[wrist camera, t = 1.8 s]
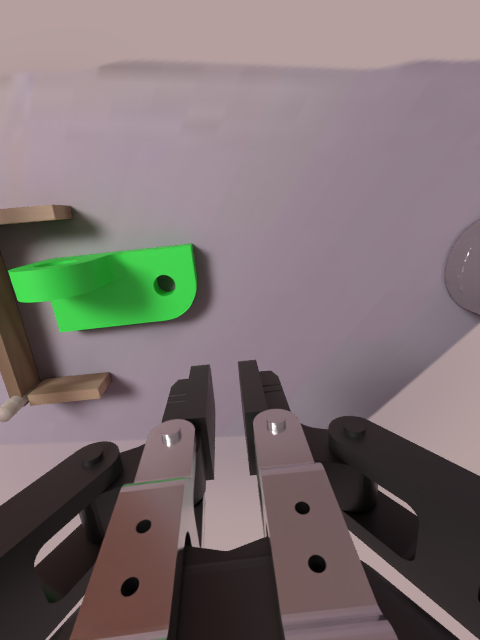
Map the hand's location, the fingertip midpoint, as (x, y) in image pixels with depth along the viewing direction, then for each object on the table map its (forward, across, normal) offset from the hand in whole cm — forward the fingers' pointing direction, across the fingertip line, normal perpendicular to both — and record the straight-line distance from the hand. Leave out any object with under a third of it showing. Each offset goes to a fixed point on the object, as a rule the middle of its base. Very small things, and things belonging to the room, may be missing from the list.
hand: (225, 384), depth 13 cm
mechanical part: (+18, +8, -1) cm, 19 cm away
